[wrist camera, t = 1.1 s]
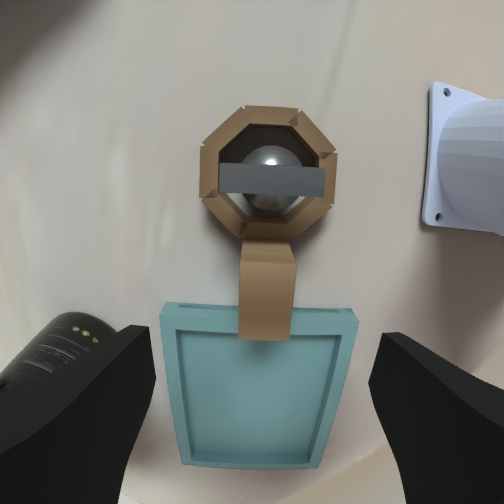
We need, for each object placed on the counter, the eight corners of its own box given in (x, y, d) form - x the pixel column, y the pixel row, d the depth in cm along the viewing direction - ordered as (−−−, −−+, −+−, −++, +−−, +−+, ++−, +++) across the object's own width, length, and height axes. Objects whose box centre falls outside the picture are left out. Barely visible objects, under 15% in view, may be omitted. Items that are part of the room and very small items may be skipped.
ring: (207, 109, 14) (186, 90, 9) (331, 116, 14) (364, 101, 10) (204, 286, 17) (187, 336, 12) (316, 290, 17) (337, 340, 12)
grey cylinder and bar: (305, 149, 15) (327, 148, 10) (302, 198, 16) (322, 217, 11) (230, 146, 15) (220, 142, 10) (229, 194, 16) (218, 212, 11)
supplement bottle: (126, 404, 20) (71, 541, 9) (47, 362, 19) (-36, 473, 8) (150, 338, 18) (71, 508, 7) (56, 289, 17) (-70, 406, 6)
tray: (351, 308, 17) (358, 321, 16) (315, 453, 21) (317, 467, 20) (166, 302, 17) (159, 314, 16) (185, 450, 21) (182, 464, 20)
